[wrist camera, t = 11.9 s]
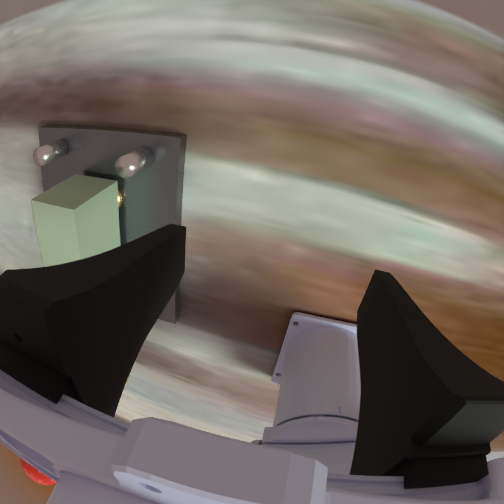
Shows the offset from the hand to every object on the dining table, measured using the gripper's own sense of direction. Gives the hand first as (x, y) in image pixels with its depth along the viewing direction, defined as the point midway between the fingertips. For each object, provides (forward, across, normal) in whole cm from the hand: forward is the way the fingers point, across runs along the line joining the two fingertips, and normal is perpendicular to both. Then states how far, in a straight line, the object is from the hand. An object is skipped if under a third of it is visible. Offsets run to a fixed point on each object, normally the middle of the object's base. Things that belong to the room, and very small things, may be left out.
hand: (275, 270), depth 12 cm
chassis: (+10, +14, +6) cm, 18 cm away
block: (+8, +14, +6) cm, 17 cm away
